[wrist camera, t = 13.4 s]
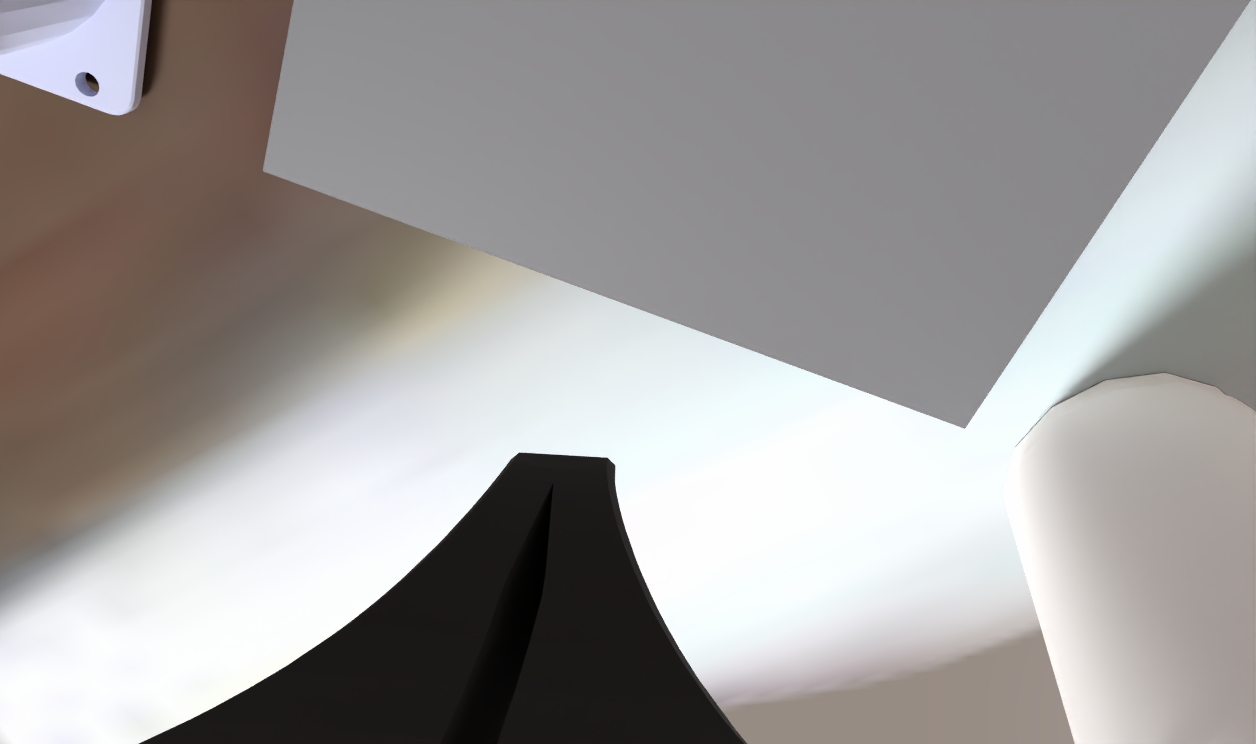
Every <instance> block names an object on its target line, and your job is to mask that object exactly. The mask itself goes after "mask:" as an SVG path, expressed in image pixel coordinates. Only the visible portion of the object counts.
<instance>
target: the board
mask: <svg viewBox="0 0 1256 744" xmlns="http://www.w3.org/2000/svg"><path fill="white" fill-rule="evenodd" d="M1249 2H1250V0H294V3H293V8H292V14H291V19H290V25H289V30H288V35H287V41H286V46H285V52H284V57H283V63H282V68H281V74H280V79H279V85H278V90H277V96H276V101H275V107H274V112H273V118H272V123H271V129H270V134H269V140H268V145H267V151H266V156H265V162H264V167H263V171H264V172H267V173H270V174H272V175H275V176H278V177H280V178H283V179H286V180H289V181H291V182H294V183H297V184H299V185H302V186H305V187H308V188H310V189H313V190H316V191H319V192H321V193H324V194H327V195H329V196H332V197H335V198H338V199H340V200H343V201H346V202H349V203H351V204H354V205H357V206H359V207H362V208H365V209H368V210H370V211H373V212H376V213H379V214H381V215H384V216H387V217H389V218H392V219H395V220H398V221H400V222H403V223H406V224H409V225H411V226H414V227H417V228H419V229H422V230H425V231H428V232H430V233H433V234H436V235H439V236H441V237H444V238H447V239H449V240H452V241H455V242H458V243H460V244H463V245H466V246H469V247H471V248H474V249H477V250H479V251H482V252H485V253H488V254H490V255H493V256H496V257H499V258H501V259H504V260H507V261H509V262H512V263H515V264H518V265H520V266H523V267H526V268H529V269H531V270H534V271H537V272H539V273H542V274H545V275H548V276H550V277H553V278H556V279H559V280H561V281H564V282H567V283H569V284H572V285H575V286H578V287H580V288H583V289H586V290H589V291H591V292H594V293H597V294H599V295H602V296H605V297H608V298H610V299H613V300H616V301H619V302H621V303H624V304H627V305H629V306H632V307H635V308H638V309H640V310H643V311H646V312H648V313H651V314H654V315H657V316H659V317H662V318H665V319H668V320H670V321H673V322H676V323H678V324H681V325H684V326H687V327H689V328H692V329H695V330H698V331H700V332H703V333H706V334H708V335H711V336H714V337H717V338H719V339H722V340H725V341H728V342H730V343H733V344H736V345H738V346H741V347H744V348H747V349H749V350H752V351H755V352H758V353H760V354H763V355H766V356H768V357H771V358H774V359H777V360H779V361H782V362H785V363H788V364H790V365H793V366H796V367H798V368H801V369H804V370H807V371H809V372H812V373H815V374H818V375H820V376H823V377H826V378H828V379H831V380H834V381H837V382H839V383H842V384H845V385H848V386H850V387H853V388H856V389H858V390H861V391H864V392H867V393H869V394H872V395H875V396H878V397H880V398H883V399H886V400H888V401H891V402H894V403H897V404H899V405H902V406H905V407H908V408H910V409H913V410H916V411H918V412H921V413H924V414H927V415H929V416H932V417H935V418H938V419H940V420H943V421H946V422H948V423H951V424H954V425H957V426H959V427H962V428H966V426H967V425H968V423H969V422H970V420H971V419H972V417H973V416H974V414H975V413H976V411H977V410H978V408H979V407H980V405H981V404H982V402H983V401H984V399H985V398H986V396H987V395H988V393H989V392H990V390H991V389H992V387H993V386H994V384H995V383H996V381H997V380H998V378H999V377H1000V375H1001V374H1002V372H1003V371H1004V369H1005V368H1006V366H1007V365H1008V363H1009V362H1010V360H1011V359H1012V357H1013V356H1014V354H1015V353H1016V351H1017V350H1018V348H1019V347H1020V345H1021V344H1022V342H1023V341H1024V339H1025V338H1026V336H1027V335H1028V333H1029V332H1030V330H1031V329H1032V327H1033V326H1034V324H1035V323H1036V321H1037V320H1038V318H1039V317H1040V315H1041V314H1042V312H1043V311H1044V309H1045V308H1046V306H1047V305H1048V303H1049V302H1050V300H1051V299H1052V297H1053V296H1054V294H1055V293H1056V291H1057V290H1058V288H1059V287H1060V285H1061V284H1062V282H1063V281H1064V279H1065V278H1066V276H1067V275H1068V273H1069V272H1070V270H1071V269H1072V267H1073V266H1074V264H1075V263H1076V261H1077V260H1078V258H1079V257H1080V255H1081V254H1082V252H1083V251H1084V249H1085V248H1086V246H1087V245H1088V243H1089V242H1090V240H1091V239H1092V237H1093V236H1094V234H1095V233H1096V231H1097V230H1098V228H1099V227H1100V225H1101V224H1102V222H1103V221H1104V219H1105V218H1106V216H1107V215H1108V213H1109V212H1110V210H1111V209H1112V207H1113V206H1114V204H1115V203H1116V201H1117V200H1118V198H1119V197H1120V195H1121V194H1122V192H1123V191H1124V189H1125V188H1126V186H1127V185H1128V183H1129V182H1130V180H1131V179H1132V177H1133V176H1134V174H1135V173H1136V171H1137V170H1138V168H1139V167H1140V165H1141V164H1142V162H1143V161H1144V159H1145V158H1146V156H1147V155H1148V153H1149V152H1150V150H1151V149H1152V147H1153V146H1154V144H1155V143H1156V141H1157V140H1158V138H1159V137H1160V135H1161V134H1162V132H1163V131H1164V129H1165V128H1166V126H1167V125H1168V123H1169V122H1170V120H1171V119H1172V117H1173V116H1174V114H1175V113H1176V111H1177V110H1178V108H1179V107H1180V105H1181V104H1182V102H1183V101H1184V99H1185V98H1186V96H1187V95H1188V93H1189V92H1190V90H1191V89H1192V87H1193V86H1194V84H1195V83H1196V81H1197V80H1198V78H1199V77H1200V75H1201V74H1202V72H1203V71H1204V69H1205V68H1206V66H1207V65H1208V63H1209V62H1210V60H1211V59H1212V57H1213V56H1214V54H1215V53H1216V51H1217V50H1218V48H1219V47H1220V45H1221V44H1222V42H1223V41H1224V39H1225V38H1226V36H1227V35H1228V33H1229V32H1230V30H1231V29H1232V27H1233V26H1234V24H1235V23H1236V21H1237V20H1238V18H1239V17H1240V15H1241V14H1242V12H1243V11H1244V9H1245V8H1246V6H1247V5H1248V3H1249Z"/></svg>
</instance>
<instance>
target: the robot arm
mask: <svg viewBox="0 0 1256 744" xmlns="http://www.w3.org/2000/svg"><path fill="white" fill-rule="evenodd" d="M151 4H152V0H0V74H2V75H5V76H8V77H10V78H13V79H16V80H19V81H21V82H24V83H27V84H29V85H32V86H35V87H38V88H40V89H43V90H46V91H49V92H51V93H54V94H57V95H59V96H62V97H65V98H68V99H70V100H73V101H76V102H79V103H81V104H84V105H87V106H89V107H92V108H95V109H98V110H100V111H103V112H106V113H109V114H113V115H122V114H126V113H128V112H131V111H133V110H134V109H135V108H136V107H137V106H139V103H140V100H141V95H142V86H143V77H144V68H145V59H146V50H147V41H148V31H149V22H150V13H151ZM87 72H88V73H90V74H91V75H93V76H94V77H95V78H96V80H97V81H98V83H99V88H100V89H99V92H98V93H97V92H95V91H94V90H92V89H91V88H90V87H89V86H88V84H87V83H86V77H85V76H86V73H87ZM139 744H747V743H746V742H745V741H744V739H743V738H742V737H741V736H740V735H739V733H738V732H737V731H736V730H735V728H734V727H733V726H732V725H731V723H730V722H729V720H728V719H727V718H726V716H725V715H724V713H723V712H722V711H721V709H720V708H719V707H718V705H717V704H716V702H715V701H714V700H713V698H712V697H711V696H710V694H709V693H708V692H707V690H706V689H705V687H704V686H703V685H702V683H701V682H700V681H699V679H698V678H697V676H696V675H695V673H694V671H693V670H692V668H691V667H690V665H689V663H688V662H687V660H686V659H685V657H684V655H683V654H682V652H681V651H680V649H679V647H678V645H677V644H676V642H675V640H674V638H673V637H672V635H671V633H670V631H669V630H668V628H667V626H666V624H665V622H664V620H663V618H662V616H661V615H660V613H659V611H658V608H657V606H656V604H655V602H654V600H653V598H652V596H651V594H650V592H649V589H648V587H647V585H646V583H645V580H644V578H643V576H642V573H641V571H640V569H639V566H638V564H637V561H636V558H635V556H634V553H633V550H632V547H631V544H630V541H629V538H628V536H627V533H626V530H625V526H624V523H623V520H622V516H621V512H620V508H619V504H618V499H617V494H616V487H615V465H614V464H613V463H612V462H611V461H610V460H609V459H608V458H601V457H585V456H568V455H551V454H534V453H518V454H517V455H516V456H515V457H513V458H512V459H511V460H510V462H509V463H508V464H507V466H506V467H505V468H504V469H503V471H502V472H501V473H500V475H499V476H498V477H497V478H496V480H495V481H494V482H493V483H492V485H491V486H490V487H489V488H488V490H487V491H486V492H485V493H484V494H483V495H482V497H481V498H480V499H479V500H478V501H477V502H476V504H475V505H474V506H473V507H472V508H471V509H470V511H469V512H468V513H467V514H466V515H465V516H464V517H463V518H462V519H461V520H460V521H459V523H458V524H457V525H456V526H455V527H454V528H453V529H452V530H451V531H450V532H449V533H448V535H447V536H446V537H445V538H444V539H443V540H442V541H441V542H440V543H439V544H438V545H437V546H436V547H435V548H434V549H433V550H432V551H431V552H430V553H429V554H428V555H427V556H426V557H425V558H423V559H422V560H421V561H420V562H419V563H418V564H417V565H416V566H415V567H414V568H413V569H412V570H411V571H410V572H409V573H408V574H407V575H406V576H405V577H404V578H403V579H401V580H400V581H399V582H398V583H397V584H396V585H395V586H394V587H392V588H391V589H390V590H389V591H388V592H387V593H386V594H384V595H383V596H382V597H381V598H380V599H378V600H377V601H376V602H375V603H374V604H372V605H371V606H370V607H369V608H367V609H366V610H365V611H364V612H362V613H361V614H360V615H359V616H357V617H356V618H355V619H354V620H352V621H351V622H350V623H348V624H347V625H346V626H344V627H343V628H342V629H340V630H339V631H337V632H336V633H335V634H333V635H332V636H330V637H329V638H327V639H326V640H325V641H323V642H322V643H320V644H319V645H317V646H316V647H314V648H313V649H311V650H310V651H308V652H307V653H305V654H304V655H302V656H301V657H299V658H298V659H296V660H295V661H293V662H292V663H290V664H289V665H287V666H286V667H284V668H282V669H281V670H279V671H278V672H276V673H274V674H272V675H271V676H269V677H267V678H266V679H264V680H262V681H261V682H259V683H257V684H255V685H254V686H252V687H250V688H249V689H247V690H245V691H243V692H241V693H240V694H238V695H236V696H234V697H232V698H230V699H229V700H227V701H225V702H223V703H221V704H219V705H218V706H216V707H214V708H212V709H210V710H208V711H206V712H204V713H202V714H200V715H198V716H196V717H194V718H193V719H191V720H188V721H186V722H184V723H182V724H180V725H178V726H176V727H173V728H171V729H169V730H167V731H165V732H163V733H161V734H159V735H156V736H154V737H152V738H150V739H148V740H146V741H144V742H141V743H139Z"/></svg>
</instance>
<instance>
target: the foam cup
mask: <svg viewBox="0 0 1256 744" xmlns="http://www.w3.org/2000/svg"><path fill="white" fill-rule="evenodd" d="M1002 493H1003V497H1004V500H1005V504H1006V509H1007V512H1008V516H1009V519H1010V523H1011V526H1012V530H1013V533H1014V537H1015V540H1016V544H1017V547H1018V551H1019V554H1020V558H1021V561H1022V564H1023V568H1024V571H1025V575H1026V578H1027V581H1028V585H1029V588H1030V592H1031V595H1032V599H1033V602H1034V605H1035V609H1036V612H1037V616H1038V619H1039V622H1040V626H1041V629H1042V633H1043V636H1044V640H1045V643H1046V646H1047V650H1048V653H1049V656H1050V660H1051V663H1052V667H1053V670H1054V674H1055V677H1056V680H1057V683H1058V687H1059V691H1060V694H1061V698H1062V701H1063V704H1064V708H1065V711H1066V715H1067V718H1068V721H1069V725H1070V728H1071V732H1072V735H1073V739H1074V742H1075V744H1256V411H1254V410H1253V409H1251V408H1250V407H1248V406H1246V405H1245V404H1243V403H1242V402H1240V401H1239V400H1237V399H1236V398H1234V397H1231V396H1227V395H1224V394H1223V393H1222V392H1221V391H1220V390H1219V389H1218V388H1217V387H1214V386H1210V385H1207V384H1203V383H1200V382H1196V381H1193V380H1189V379H1186V378H1182V377H1178V376H1175V375H1171V374H1168V373H1159V374H1151V375H1143V376H1135V377H1127V378H1119V379H1111V380H1105V381H1103V382H1101V383H1099V384H1097V385H1095V386H1093V387H1091V388H1089V389H1087V390H1085V391H1083V392H1081V393H1079V394H1077V395H1075V396H1073V397H1071V398H1069V399H1067V400H1065V401H1063V402H1061V403H1059V404H1058V405H1056V406H1054V407H1052V408H1051V409H1050V410H1049V411H1048V412H1047V413H1046V414H1045V415H1044V416H1043V417H1042V419H1041V420H1040V421H1039V422H1038V423H1037V424H1036V425H1035V426H1034V427H1033V428H1032V430H1031V431H1030V432H1029V433H1028V434H1027V435H1026V436H1025V437H1024V438H1023V439H1022V440H1021V442H1020V443H1019V444H1018V445H1017V446H1016V447H1015V449H1014V453H1013V456H1012V459H1011V463H1010V466H1009V470H1008V473H1007V476H1006V480H1005V483H1004V486H1003V490H1002Z"/></svg>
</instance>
